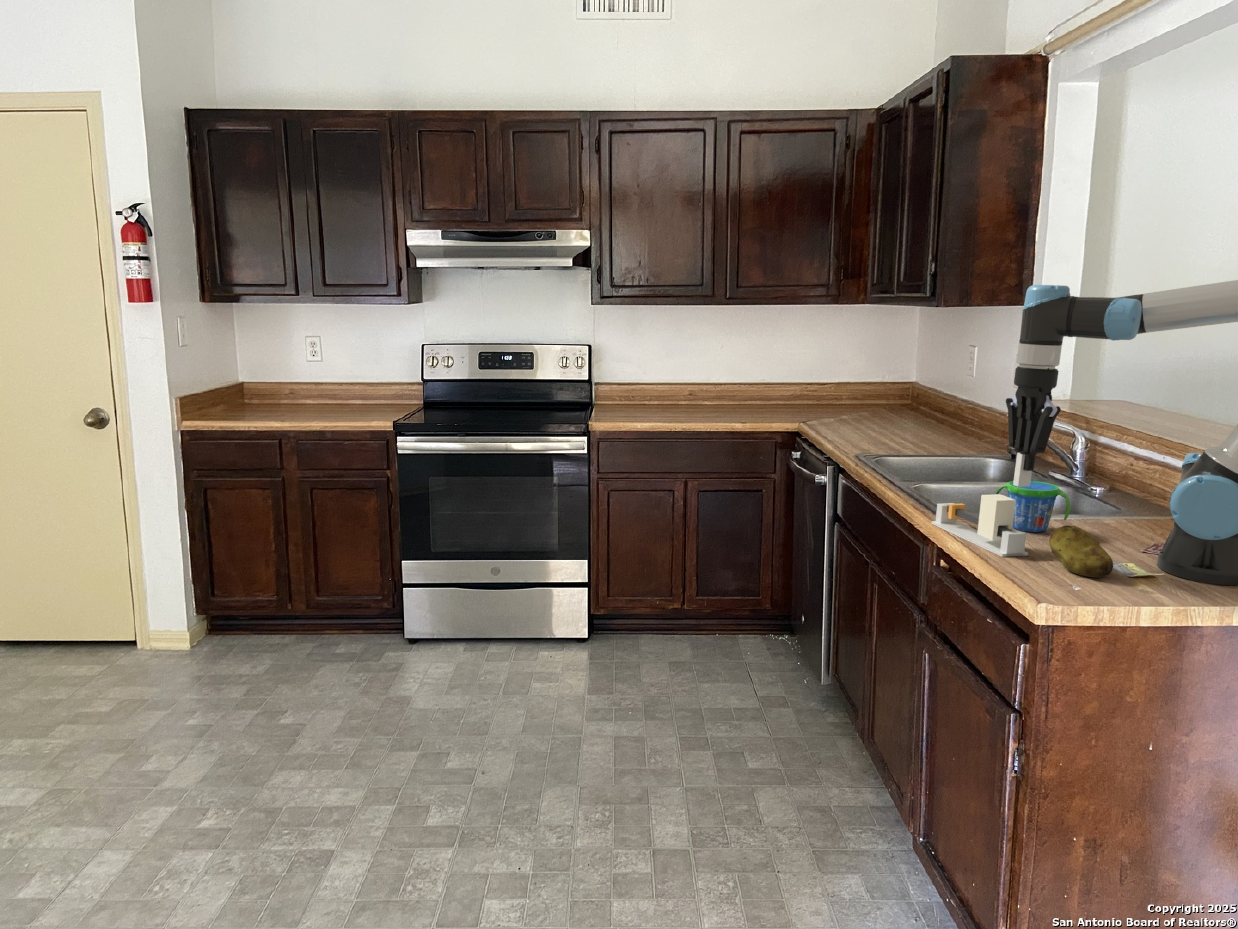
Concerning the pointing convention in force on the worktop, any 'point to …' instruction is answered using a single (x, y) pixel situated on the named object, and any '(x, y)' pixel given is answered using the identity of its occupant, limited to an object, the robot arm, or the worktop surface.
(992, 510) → the tall cream pillar
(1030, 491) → the snack cup
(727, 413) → the worktop surface
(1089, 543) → the potato
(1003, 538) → the sliding block rail
